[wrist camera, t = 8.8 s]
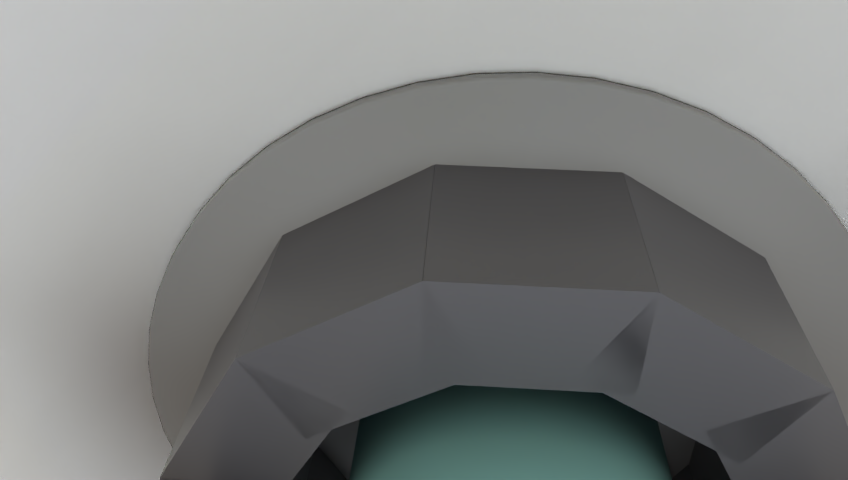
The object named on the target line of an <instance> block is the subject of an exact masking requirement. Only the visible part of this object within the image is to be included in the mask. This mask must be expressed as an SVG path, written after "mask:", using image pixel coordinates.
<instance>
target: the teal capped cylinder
mask: <svg viewBox="0 0 848 480" xmlns="http://www.w3.org/2000/svg"><path fill="white" fill-rule="evenodd" d="M349 480H672V477H671V473H670V469H669V465H668V461H667V457H666V453H665V449H664V445H663V441H662V437H661V433H660V429H659V425H658V421H656V420H655V419H653V418H651V417H649V416H647V415H645V414H643V413H641V412H639V411H637V410H635V409H633V408H631V407H629V406H627V405H625V404H623V403H621V402H619V401H618V400H616V399H614V398H612V397H610V396H608V395H606V394H604V393H597V392H579V391H560V390H541V389H523V388H504V387H486V386H467V385H453V386H450V387H447V388H444V389H442V390H439V391H436V392H433V393H431V394H428V395H425V396H422V397H420V398H417V399H414V400H411V401H409V402H406V403H403V404H400V405H398V406H395V407H392V408H389V409H387V410H384V411H381V412H378V413H376V414H373V415H370V416H367V417H365V418H362V419H360V420H359V426H358V432H357V437H356V443H355V449H354V455H353V461H352V467H351V472H350V478H349Z"/></svg>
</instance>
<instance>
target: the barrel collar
mask: <svg viewBox="0 0 848 480" xmlns="http://www.w3.org/2000/svg"><path fill="white" fill-rule="evenodd" d="M148 365H149V372H150V379H151V386H152V392H153V399H154V402H155V405H156V408H157V411H158V414H159V417H160V421H161V424H162V427H163V430H164V432H165V434H166V436H167V438H168V440H169V442H170V444H171V446H172V451H171V453H170V455H169V458H168V460H167V463H166V465H165V467H164V470H163V472H162V474H161V477H160V480H349V478H350V472H351V467H352V461H353V455H354V449H355V443H356V437H357V432H358V426H359V420H360V419H362V418H365V417H367V416H370V415H373V414H376V413H378V412H381V411H384V410H387V409H389V408H392V407H395V406H398V405H400V404H403V403H406V402H409V401H411V400H414V399H417V398H420V397H422V396H425V395H428V394H431V393H433V392H436V391H439V390H442V389H444V388H447V387H450V386H453V385H467V386H486V387H504V388H523V389H541V390H560V391H579V392H597V393H604V394H606V395H608V396H610V397H612V398H614V399H616V400H618V401H619V402H621V403H623V404H625V405H627V406H629V407H631V408H633V409H635V410H637V411H639V412H641V413H643V414H645V415H647V416H649V417H651V418H653V419H655V420H656V421H658V425H659V429H660V433H661V437H662V441H663V445H664V449H665V453H666V457H667V461H668V465H669V469H670V473H671V477H672V480H848V232H847V231H846V229H845V228H844V226H843V225H842V223H841V222H840V220H839V219H838V217H837V216H836V214H835V213H834V211H833V210H832V208H831V207H830V206H829V204H828V203H827V202H826V201H825V200H824V199H823V198H822V197H821V196H820V194H819V193H818V192H817V191H816V190H815V189H814V188H813V187H812V186H811V185H810V184H809V183H808V182H807V181H806V180H805V179H804V178H803V177H802V176H801V175H800V174H799V172H798V171H797V170H796V169H795V168H793V167H792V166H791V165H789V164H788V163H787V162H785V161H784V160H783V159H781V158H780V157H779V156H777V155H776V154H775V153H774V152H772V151H771V150H770V149H768V148H767V147H766V146H764V145H763V144H762V143H760V142H759V141H758V140H756V139H755V138H754V137H752V136H750V135H748V134H746V133H744V132H742V131H741V130H739V129H737V128H735V127H733V126H731V125H730V124H728V123H726V122H724V121H722V120H720V119H719V118H717V117H715V116H713V115H711V114H709V113H708V112H705V111H703V110H700V109H697V108H695V107H692V106H689V105H687V104H684V103H681V102H679V101H676V100H673V99H671V98H668V97H665V96H663V95H660V94H657V93H655V92H651V91H647V90H643V89H638V88H634V87H630V86H625V85H621V84H617V83H612V82H608V81H604V80H599V79H594V78H584V77H574V76H564V75H554V74H544V73H501V74H473V75H466V76H459V77H453V78H446V79H439V80H433V81H426V82H419V83H415V84H411V85H407V86H404V87H400V88H397V89H393V90H390V91H386V92H383V93H379V94H376V95H372V96H368V97H365V98H361V99H359V100H357V101H354V102H352V103H350V104H347V105H345V106H343V107H340V108H338V109H336V110H333V111H331V112H329V113H326V114H324V115H322V116H319V117H317V118H315V119H312V120H310V121H309V122H307V123H305V124H304V125H302V126H300V127H299V128H297V129H295V130H294V131H292V132H290V133H289V134H287V135H286V136H284V137H282V138H281V139H279V140H277V141H276V142H274V143H272V144H271V145H269V146H267V147H266V148H265V149H264V150H262V151H261V152H260V153H259V154H258V155H256V156H255V157H254V158H253V159H251V160H250V161H249V162H248V163H247V164H245V165H244V166H243V167H242V168H240V169H239V170H238V171H237V172H236V173H234V174H233V175H232V176H231V177H230V178H229V179H228V180H227V181H226V182H225V183H224V184H223V186H222V187H221V188H220V189H219V190H218V191H217V192H216V193H215V195H214V196H213V197H212V198H211V199H210V200H209V201H208V202H207V204H206V205H205V206H204V207H203V208H202V209H201V210H200V212H199V213H198V215H197V217H196V218H195V220H194V221H193V223H192V225H191V226H190V228H189V229H188V231H187V232H186V234H185V236H184V237H183V239H182V240H181V242H180V244H179V245H178V247H177V249H176V250H175V252H174V254H173V256H172V258H171V260H170V263H169V265H168V267H167V270H166V272H165V275H164V277H163V280H162V282H161V285H160V287H159V289H158V292H157V296H156V300H155V305H154V310H153V315H152V319H151V324H150V329H149V361H148Z"/></svg>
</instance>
